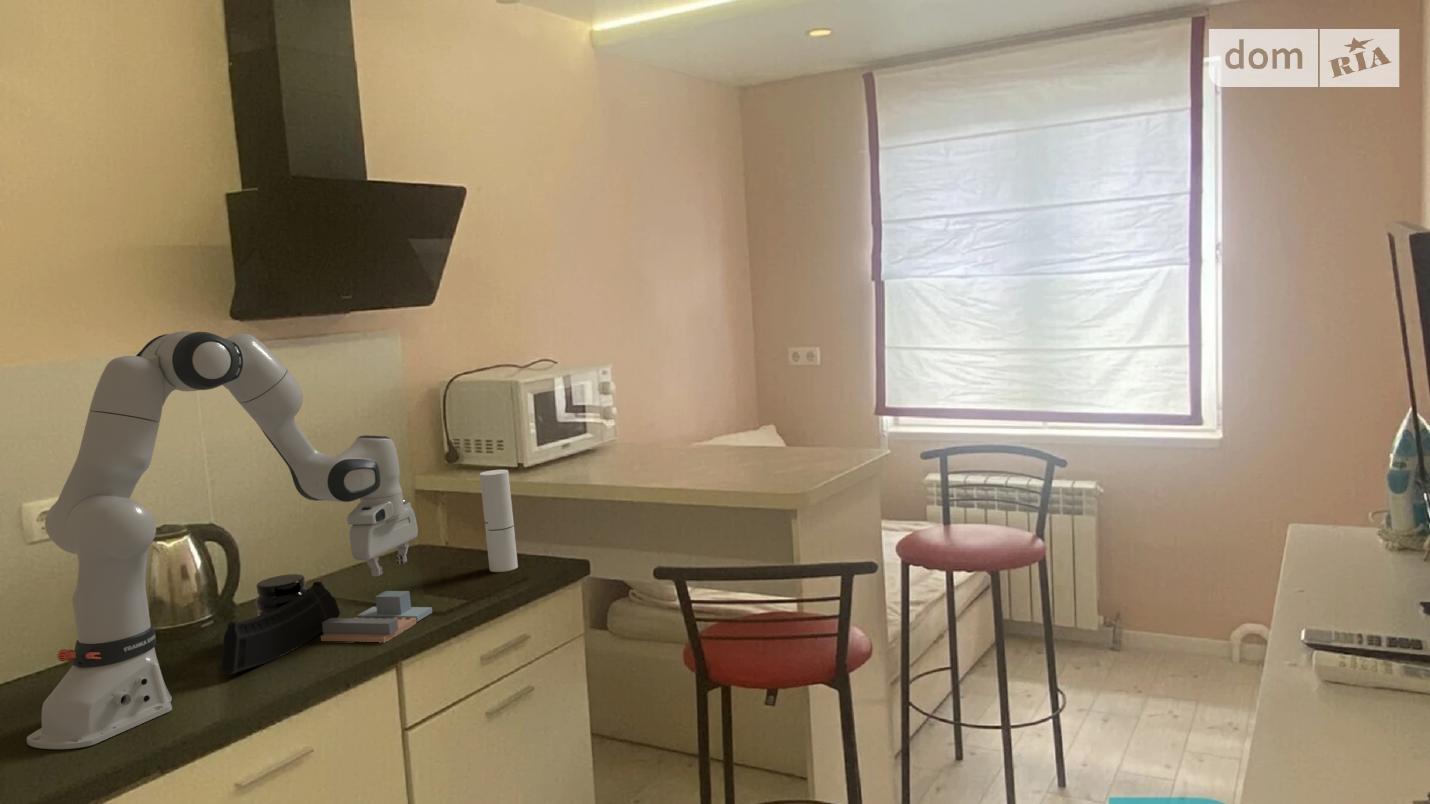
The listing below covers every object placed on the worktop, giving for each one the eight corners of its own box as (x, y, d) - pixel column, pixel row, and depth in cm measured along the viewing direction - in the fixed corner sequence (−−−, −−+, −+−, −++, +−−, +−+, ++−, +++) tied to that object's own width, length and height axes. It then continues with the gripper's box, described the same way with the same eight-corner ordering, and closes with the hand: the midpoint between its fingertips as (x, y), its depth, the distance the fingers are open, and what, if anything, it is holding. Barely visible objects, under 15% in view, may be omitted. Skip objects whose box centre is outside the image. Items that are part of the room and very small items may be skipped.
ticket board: (386, 643, 202) (384, 626, 201) (319, 641, 206) (317, 625, 206) (418, 623, 213) (416, 607, 213) (354, 622, 217) (352, 606, 217)
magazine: (218, 639, 184) (319, 552, 210) (204, 638, 185) (306, 552, 211) (249, 712, 190) (343, 619, 216) (236, 711, 191) (331, 618, 217)
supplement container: (250, 638, 212) (243, 584, 210) (296, 623, 220) (289, 571, 219) (277, 646, 205) (270, 590, 204) (323, 630, 214) (316, 576, 213)
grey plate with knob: (417, 621, 214) (415, 598, 213) (357, 620, 218) (354, 597, 217) (432, 612, 220) (429, 589, 219) (373, 611, 224) (370, 589, 223)
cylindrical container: (509, 562, 259) (500, 468, 256) (522, 567, 253) (513, 471, 251) (484, 569, 254) (474, 473, 252) (497, 573, 249) (487, 476, 246)
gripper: (396, 497, 227) (403, 556, 228) (341, 518, 207) (349, 582, 209) (421, 496, 225) (427, 556, 227) (368, 518, 206) (375, 582, 207)
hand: (389, 569), depth 218 cm, fingers open, 8 cm apart
